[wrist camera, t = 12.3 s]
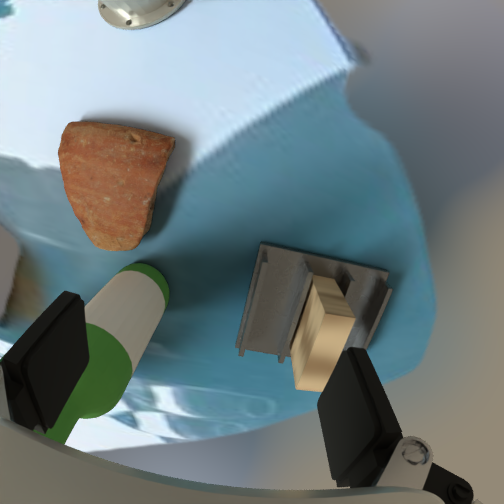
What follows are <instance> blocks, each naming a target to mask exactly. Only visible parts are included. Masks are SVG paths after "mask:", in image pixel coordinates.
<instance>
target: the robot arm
mask: <svg viewBox="0 0 504 504" xmlns="http://www.w3.org/2000/svg"><path fill="white" fill-rule="evenodd" d="M184 2H185V0H98V9H99V12H100V15H101V17H102V18H103V19H104V20H105V21H106V22H107V23H108V24H110V25H111V26H113V27H116V28H119V29H123V30H135V29H142V28H145V27H149V26H152V25H154V24H156V23H159V22H161V21H162V20H164V19H166V18H168V17H169V16H170V15H172V14H173V13H174V12H176V11H177V10H178V9H179V8H180V7H181V6H182V4H183V3H184ZM172 6H173V7H172ZM131 23H132V24H131ZM89 358H90V355H89V347H88V339H87V330H86V320H85V307H84V301H83V300H82V299H81V298H80V295H78V294H75V293H72V292H68V291H64V292H62V293H61V294H60V295H59V296H58V298H57V299H56V300H55V301H54V302H53V303H52V304H51V305H50V306H49V307H48V308H47V309H46V310H45V311H44V312H43V313H42V314H41V315H40V316H39V317H38V318H37V319H36V321H35V322H34V323H33V324H32V325H31V326H30V327H29V328H28V329H27V330H26V332H25V333H24V334H23V335H22V336H21V337H20V338H19V339H18V340H17V342H16V343H15V344H14V345H13V346H12V347H11V349H10V350H9V351H8V352H7V353H6V354H5V356H4V357H3V359H2V360H1V361H0V504H482V503H481V502H480V501H479V500H478V499H476V500H475V501H474V500H473V490H472V487H471V486H470V484H469V483H468V482H467V481H465V480H464V479H462V478H460V477H458V476H457V475H455V474H453V473H451V472H449V471H447V470H445V469H444V468H442V467H440V466H438V465H436V464H435V463H433V462H432V461H433V452H432V450H431V448H430V446H429V445H428V444H427V443H426V442H425V441H424V440H422V439H421V438H418V437H414V436H408V437H404V438H403V436H402V433H401V432H402V430H401V428H400V426H399V423H398V421H397V419H396V416H395V414H394V412H393V409H392V407H391V405H390V402H389V400H388V398H387V395H386V393H385V391H384V389H383V386H382V384H381V382H380V380H379V377H378V375H377V373H376V371H375V369H374V367H373V364H372V362H371V360H370V358H369V356H368V354H367V351H366V350H365V349H364V348H358V347H349V348H348V349H347V350H344V351H342V353H341V355H340V357H339V359H338V362H337V364H336V366H335V368H334V370H333V372H332V374H331V376H330V378H329V380H328V382H327V384H326V386H325V388H324V390H323V392H322V393H321V395H320V397H319V399H318V403H317V408H318V413H319V418H320V422H321V427H322V432H323V437H324V442H325V447H326V452H327V457H328V462H329V467H330V471H331V476H332V479H333V480H336V483H337V487H348V486H350V488H349V489H330V490H270V489H252V488H241V487H231V486H222V485H214V484H207V483H201V482H194V481H189V480H183V479H178V478H173V477H168V476H164V475H159V474H155V473H151V472H147V471H143V470H139V469H135V468H131V467H128V466H124V465H120V464H118V463H114V462H111V461H108V460H105V459H102V458H99V457H96V456H93V455H90V454H87V453H85V452H82V451H79V450H77V449H74V448H71V447H69V446H67V445H64V444H61V443H59V442H57V441H54V440H52V439H49V438H47V437H45V436H43V435H40V434H38V433H36V432H34V431H33V430H36V431H38V432H40V433H42V434H46V432H47V430H48V428H50V429H52V428H53V427H54V425H55V423H56V421H57V419H58V417H59V415H60V414H61V412H62V410H63V408H64V406H65V404H66V402H67V401H68V399H69V397H70V395H71V393H72V392H73V390H74V388H75V386H76V384H77V383H78V381H79V379H80V377H81V376H82V374H83V372H84V371H85V369H86V367H87V365H88V363H89Z"/></svg>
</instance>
